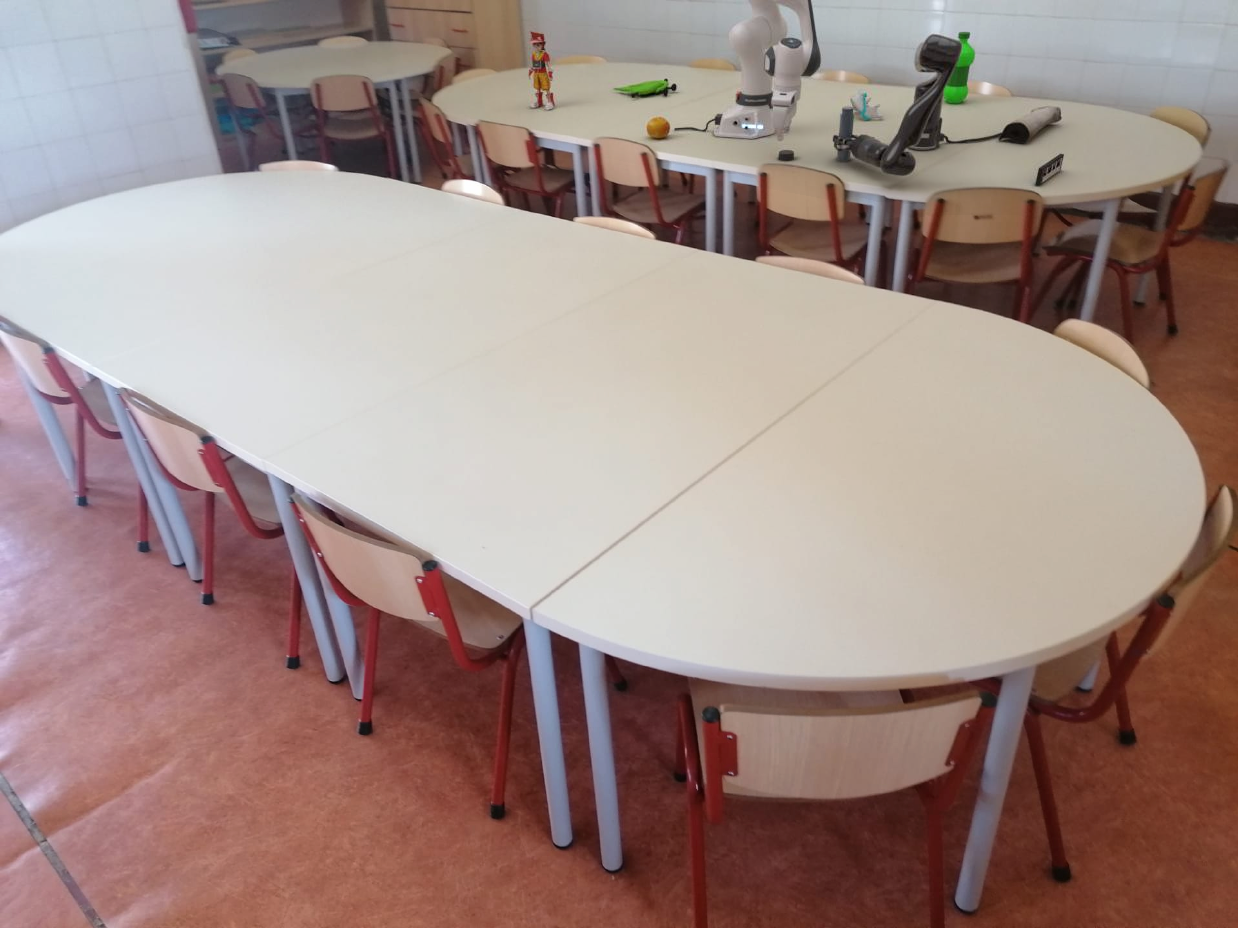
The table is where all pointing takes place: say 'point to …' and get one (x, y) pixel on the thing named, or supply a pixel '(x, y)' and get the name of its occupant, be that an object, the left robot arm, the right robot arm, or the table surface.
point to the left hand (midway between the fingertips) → (783, 136)
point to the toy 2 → (648, 88)
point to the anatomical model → (864, 106)
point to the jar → (845, 131)
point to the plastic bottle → (960, 72)
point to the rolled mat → (1030, 124)
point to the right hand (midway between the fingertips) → (840, 137)
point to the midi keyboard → (1049, 169)
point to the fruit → (658, 127)
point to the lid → (786, 155)
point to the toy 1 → (541, 71)
